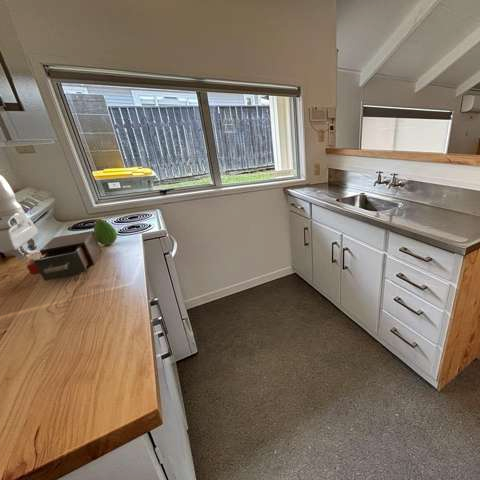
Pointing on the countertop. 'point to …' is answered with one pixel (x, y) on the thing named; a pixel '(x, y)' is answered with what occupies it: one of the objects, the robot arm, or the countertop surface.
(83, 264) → the drawer
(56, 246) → the cabinet
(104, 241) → the avocado
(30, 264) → the doll
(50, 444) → the countertop surface
